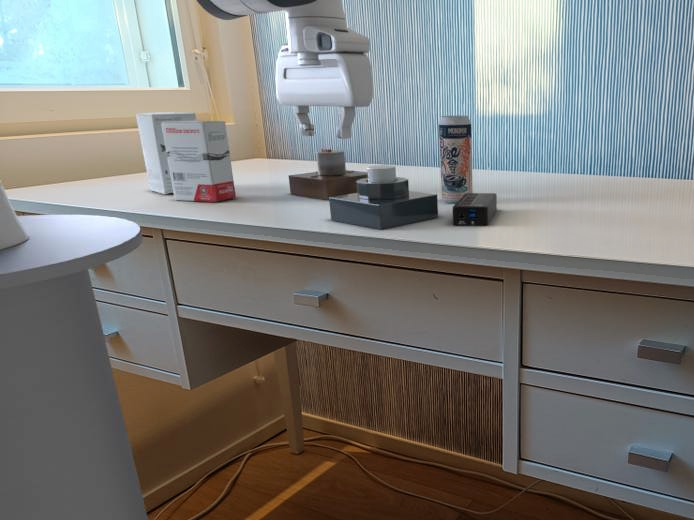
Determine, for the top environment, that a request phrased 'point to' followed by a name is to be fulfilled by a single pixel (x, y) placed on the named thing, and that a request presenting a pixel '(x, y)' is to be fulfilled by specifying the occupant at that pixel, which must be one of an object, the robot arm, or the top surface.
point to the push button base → (383, 205)
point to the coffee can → (455, 157)
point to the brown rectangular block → (325, 184)
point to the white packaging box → (158, 147)
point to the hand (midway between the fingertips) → (325, 137)
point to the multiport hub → (475, 209)
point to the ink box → (199, 160)
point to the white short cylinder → (381, 173)
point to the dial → (331, 162)
